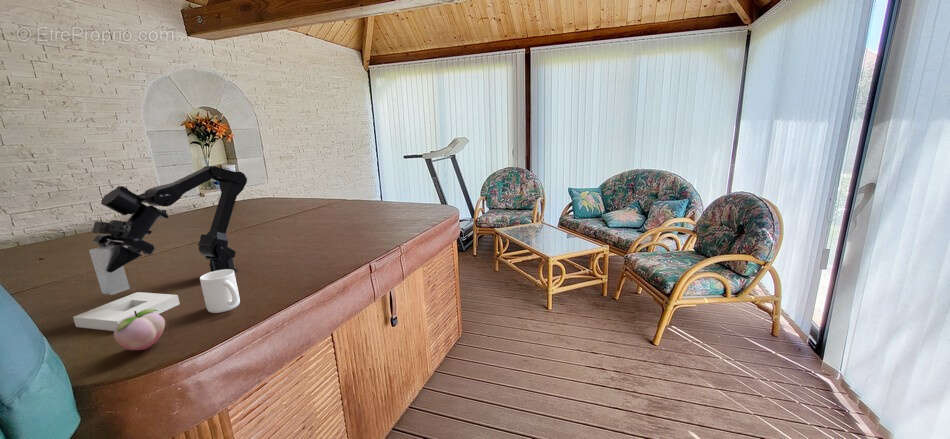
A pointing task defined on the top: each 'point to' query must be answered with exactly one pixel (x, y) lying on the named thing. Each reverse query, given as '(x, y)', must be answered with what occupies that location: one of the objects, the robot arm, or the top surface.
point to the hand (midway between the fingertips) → (103, 271)
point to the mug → (220, 290)
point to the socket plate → (124, 310)
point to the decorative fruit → (139, 330)
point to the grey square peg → (107, 280)
